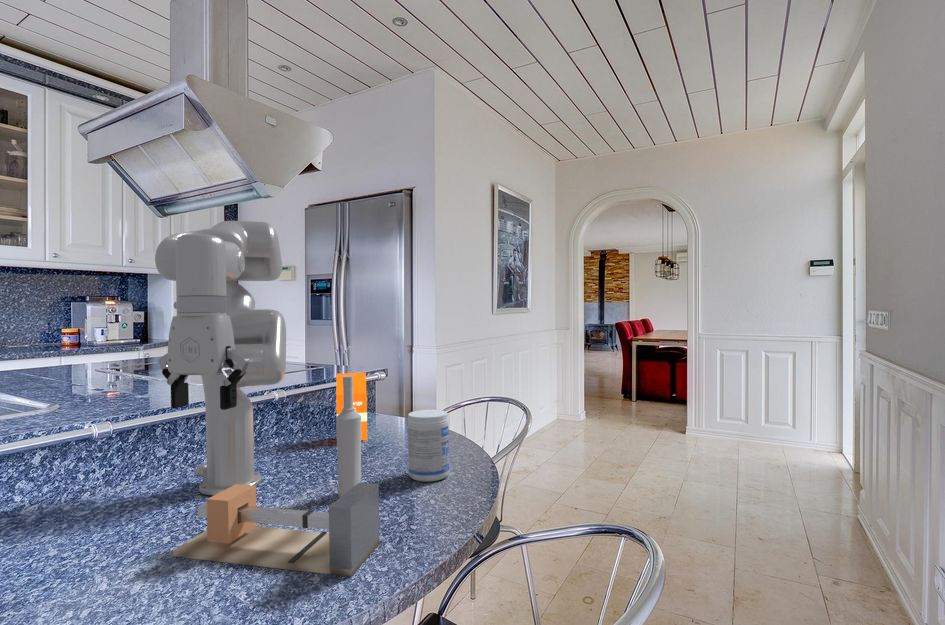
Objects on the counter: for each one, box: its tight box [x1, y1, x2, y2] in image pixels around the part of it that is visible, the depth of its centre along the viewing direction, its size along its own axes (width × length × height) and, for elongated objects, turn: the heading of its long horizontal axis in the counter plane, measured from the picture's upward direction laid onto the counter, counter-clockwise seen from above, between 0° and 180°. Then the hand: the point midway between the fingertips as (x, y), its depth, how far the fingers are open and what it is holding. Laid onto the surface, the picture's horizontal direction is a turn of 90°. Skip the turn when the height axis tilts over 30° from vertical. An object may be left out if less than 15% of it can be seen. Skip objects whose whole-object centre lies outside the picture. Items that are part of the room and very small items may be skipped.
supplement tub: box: [407, 409, 450, 483], centre depth 113 cm, size 10×10×15 cm
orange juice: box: [335, 372, 368, 441], centre depth 146 cm, size 8×9×20 cm
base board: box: [172, 525, 381, 578], centre depth 79 cm, size 31×10×1 cm, turn 77°
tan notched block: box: [206, 484, 258, 544], centre depth 80 cm, size 4×7×7 cm, turn 167°
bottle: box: [335, 376, 362, 498], centre depth 102 cm, size 5×5×25 cm
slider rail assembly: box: [197, 482, 381, 578], centre depth 79 cm, size 30×10×10 cm, turn 77°
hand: (204, 407), depth 83 cm, fingers open, 9 cm apart
